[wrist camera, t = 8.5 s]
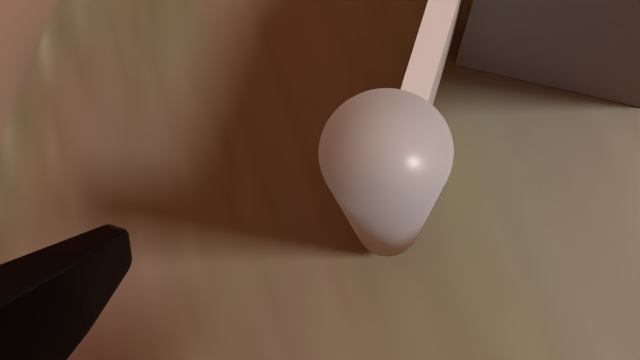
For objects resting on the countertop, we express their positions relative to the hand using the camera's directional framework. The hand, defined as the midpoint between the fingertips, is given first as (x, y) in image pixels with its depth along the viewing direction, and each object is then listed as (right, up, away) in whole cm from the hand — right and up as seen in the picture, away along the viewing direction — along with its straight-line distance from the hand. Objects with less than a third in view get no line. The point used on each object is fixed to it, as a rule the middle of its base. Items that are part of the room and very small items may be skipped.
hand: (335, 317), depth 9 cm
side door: (+4, +5, +12) cm, 13 cm away
